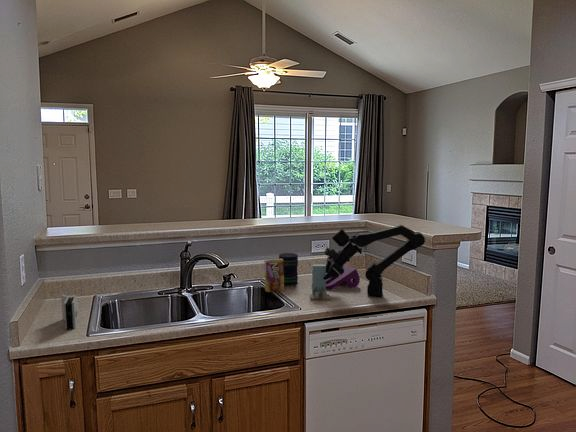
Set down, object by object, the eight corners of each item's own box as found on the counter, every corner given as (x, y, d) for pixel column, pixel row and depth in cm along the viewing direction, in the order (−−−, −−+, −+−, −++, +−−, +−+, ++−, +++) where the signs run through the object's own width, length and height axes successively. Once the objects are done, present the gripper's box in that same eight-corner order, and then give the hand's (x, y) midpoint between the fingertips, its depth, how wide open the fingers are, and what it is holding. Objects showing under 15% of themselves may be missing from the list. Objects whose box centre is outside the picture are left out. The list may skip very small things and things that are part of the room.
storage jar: (287, 287, 220) (287, 257, 218) (274, 283, 227) (274, 254, 225) (301, 283, 226) (302, 255, 224) (289, 279, 234) (289, 252, 232)
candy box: (282, 288, 217) (282, 258, 216) (284, 291, 213) (284, 260, 211) (264, 289, 215) (264, 259, 213) (266, 292, 211) (266, 261, 209)
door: (324, 293, 210) (325, 264, 209) (325, 295, 207) (325, 265, 206) (311, 293, 210) (311, 264, 208) (312, 295, 207) (312, 265, 205)
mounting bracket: (333, 302, 216) (361, 283, 221) (327, 288, 213) (356, 269, 219) (324, 296, 224) (351, 278, 230) (318, 283, 222) (345, 264, 227)
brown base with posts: (328, 296, 205) (329, 287, 205) (330, 300, 199) (330, 292, 198) (309, 296, 205) (309, 288, 204) (310, 300, 199) (310, 292, 198)
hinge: (62, 319, 174) (60, 294, 173) (77, 317, 177) (76, 292, 176) (65, 330, 163) (64, 304, 161) (81, 328, 165) (80, 302, 164)
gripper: (332, 238, 215) (309, 260, 216) (337, 245, 197) (312, 269, 198) (347, 254, 216) (325, 276, 217) (354, 263, 198) (329, 286, 199)
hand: (322, 276), depth 208 cm, fingers open, 9 cm apart
